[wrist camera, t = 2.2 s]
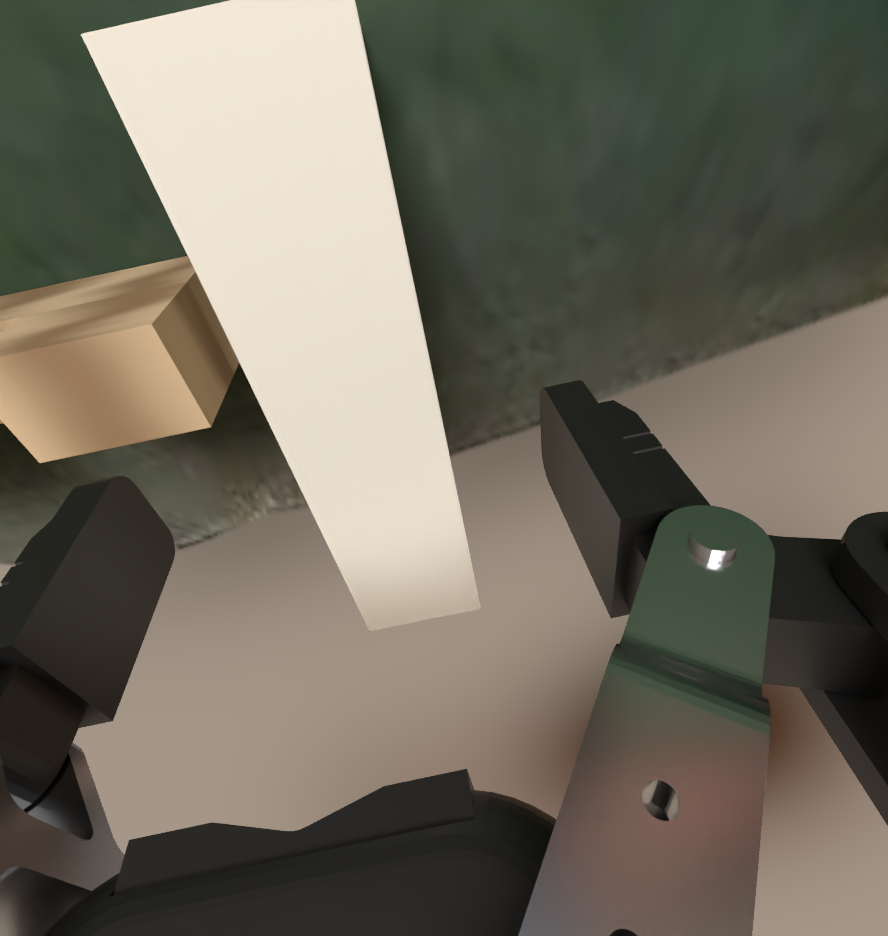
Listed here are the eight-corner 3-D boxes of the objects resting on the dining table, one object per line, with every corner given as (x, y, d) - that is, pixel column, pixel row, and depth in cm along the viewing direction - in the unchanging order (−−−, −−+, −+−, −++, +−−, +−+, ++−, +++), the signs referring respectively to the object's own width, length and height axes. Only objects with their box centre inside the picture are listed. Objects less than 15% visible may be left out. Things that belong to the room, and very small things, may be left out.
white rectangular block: (252, 52, 16) (79, 33, 6) (361, 27, 16) (349, -26, 6) (369, 417, 24) (369, 631, 15) (438, 402, 24) (481, 608, 15)
